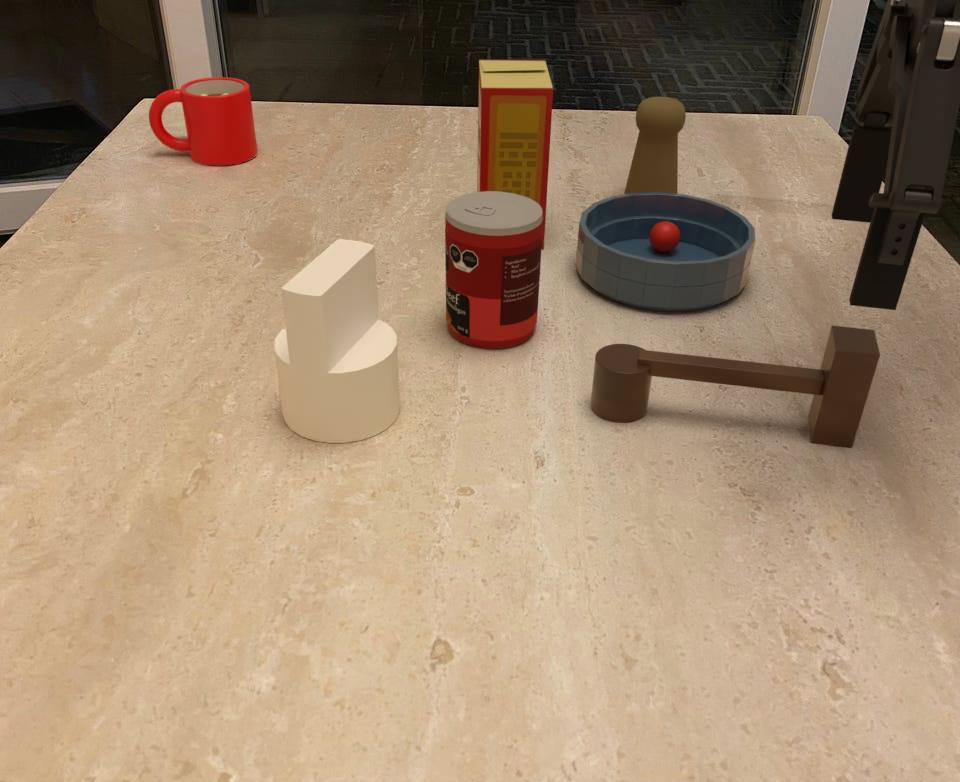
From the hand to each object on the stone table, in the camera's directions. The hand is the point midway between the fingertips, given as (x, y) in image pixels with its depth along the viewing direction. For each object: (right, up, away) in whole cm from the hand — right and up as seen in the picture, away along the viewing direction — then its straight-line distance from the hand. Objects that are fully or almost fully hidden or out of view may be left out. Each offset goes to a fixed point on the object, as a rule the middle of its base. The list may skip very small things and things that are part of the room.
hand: (860, 259), depth 67 cm
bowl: (-8, +5, +29) cm, 31 cm away
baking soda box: (-23, +11, +37) cm, 45 cm away
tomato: (-7, +9, +31) cm, 33 cm away
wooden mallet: (-7, -10, +10) cm, 16 cm away
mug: (-58, +24, +53) cm, 82 cm away
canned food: (-25, -2, +20) cm, 32 cm away
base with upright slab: (-36, -10, +10) cm, 39 cm away
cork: (-7, +16, +44) cm, 47 cm away
